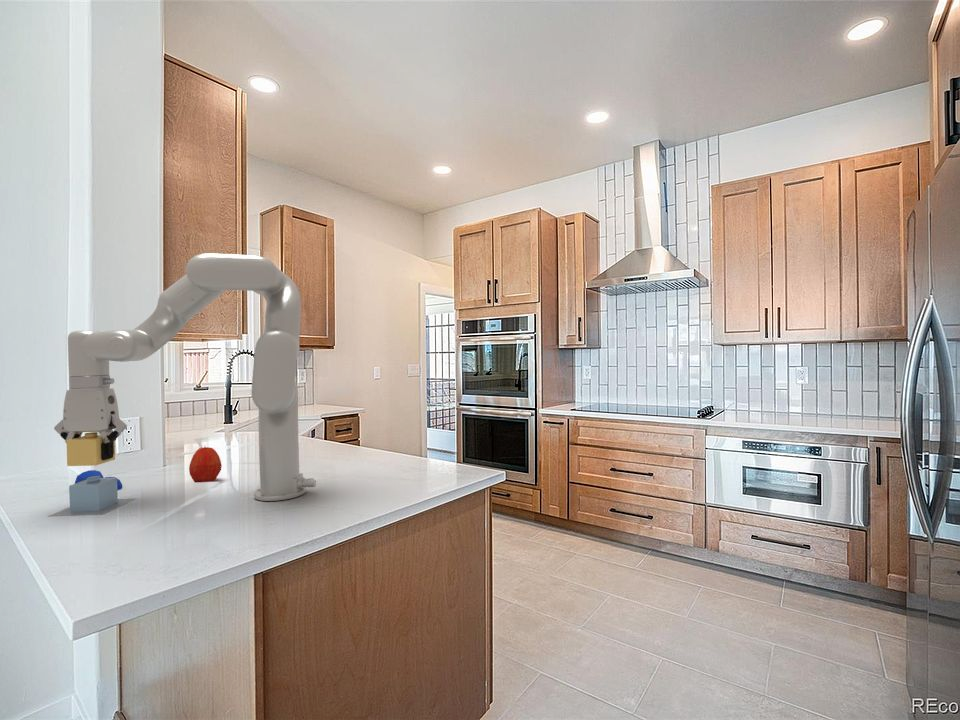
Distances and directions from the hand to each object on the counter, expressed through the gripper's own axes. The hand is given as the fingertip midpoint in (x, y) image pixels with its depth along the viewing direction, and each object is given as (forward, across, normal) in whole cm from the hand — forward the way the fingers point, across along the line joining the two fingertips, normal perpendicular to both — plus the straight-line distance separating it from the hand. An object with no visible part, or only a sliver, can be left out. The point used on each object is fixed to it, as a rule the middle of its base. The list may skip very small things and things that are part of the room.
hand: (91, 458), depth 117 cm
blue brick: (+11, 0, 0) cm, 11 cm away
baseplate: (+13, 0, 0) cm, 13 cm away
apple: (+13, -14, -24) cm, 31 cm away
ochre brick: (+1, 0, 0) cm, 1 cm away
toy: (+13, +10, -17) cm, 24 cm away
